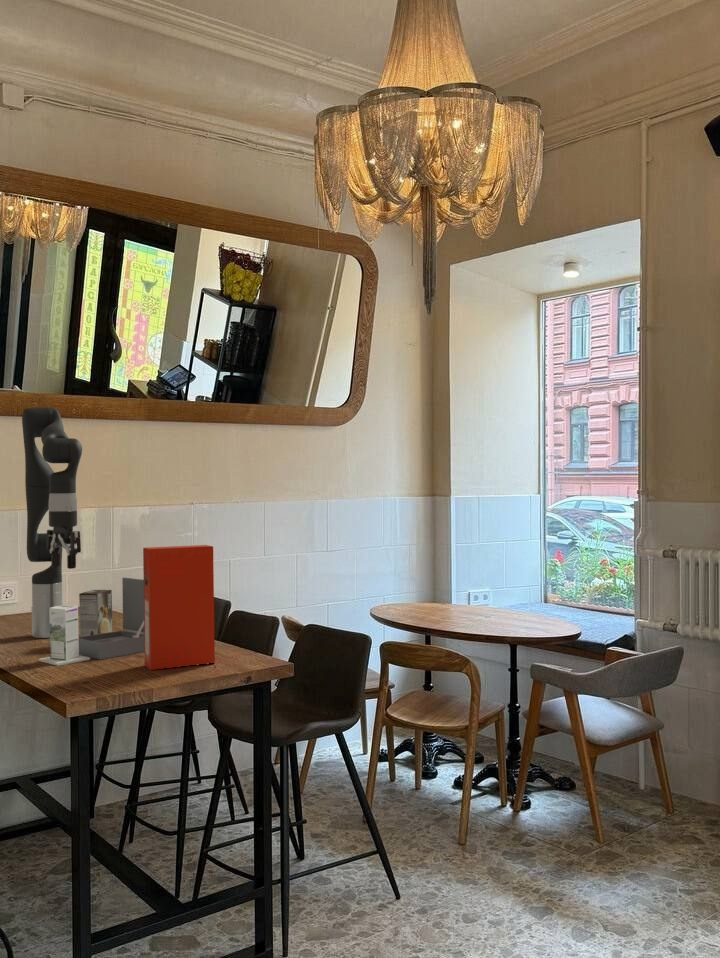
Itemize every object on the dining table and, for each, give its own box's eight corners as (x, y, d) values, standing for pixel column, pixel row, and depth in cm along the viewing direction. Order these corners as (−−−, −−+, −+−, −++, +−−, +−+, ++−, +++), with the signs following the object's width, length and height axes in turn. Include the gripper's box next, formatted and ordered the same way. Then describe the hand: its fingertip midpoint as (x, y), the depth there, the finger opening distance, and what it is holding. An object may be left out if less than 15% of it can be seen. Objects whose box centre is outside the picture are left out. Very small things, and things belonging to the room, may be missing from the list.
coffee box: (94, 640, 279) (93, 589, 279) (113, 640, 278) (112, 589, 278) (79, 645, 270) (78, 593, 270) (98, 646, 269) (98, 593, 269)
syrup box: (79, 656, 250) (79, 605, 250) (65, 660, 245) (65, 608, 244) (63, 655, 252) (62, 604, 252) (49, 659, 247) (48, 607, 247)
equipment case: (73, 653, 258) (73, 582, 258) (125, 644, 271) (124, 577, 271) (100, 659, 249) (99, 586, 249) (152, 650, 262) (152, 580, 262)
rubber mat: (38, 660, 248) (38, 658, 248) (71, 655, 255) (71, 653, 255) (57, 665, 241) (57, 663, 241) (90, 659, 249) (90, 657, 249)
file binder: (144, 665, 241) (143, 547, 241) (206, 658, 248) (205, 544, 248) (151, 670, 233) (149, 549, 233) (214, 664, 241) (213, 546, 241)
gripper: (37, 509, 250) (38, 567, 250) (64, 510, 241) (64, 570, 241) (61, 508, 256) (62, 564, 256) (88, 509, 246) (89, 568, 246)
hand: (63, 567), depth 248 cm, fingers open, 8 cm apart
